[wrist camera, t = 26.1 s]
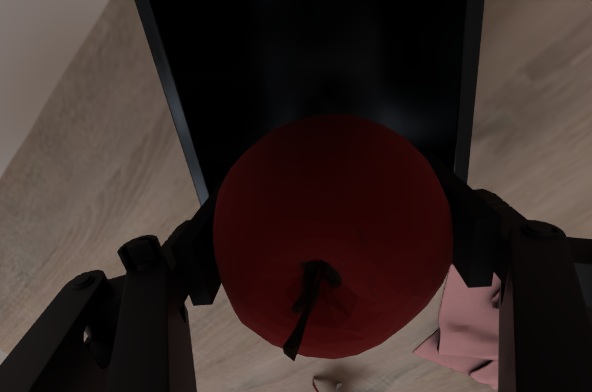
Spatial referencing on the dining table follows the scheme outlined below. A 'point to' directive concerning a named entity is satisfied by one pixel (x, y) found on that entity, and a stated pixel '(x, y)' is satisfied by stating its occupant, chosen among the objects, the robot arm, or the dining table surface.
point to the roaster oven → (314, 71)
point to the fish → (336, 386)
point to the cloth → (467, 330)
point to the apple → (331, 235)
